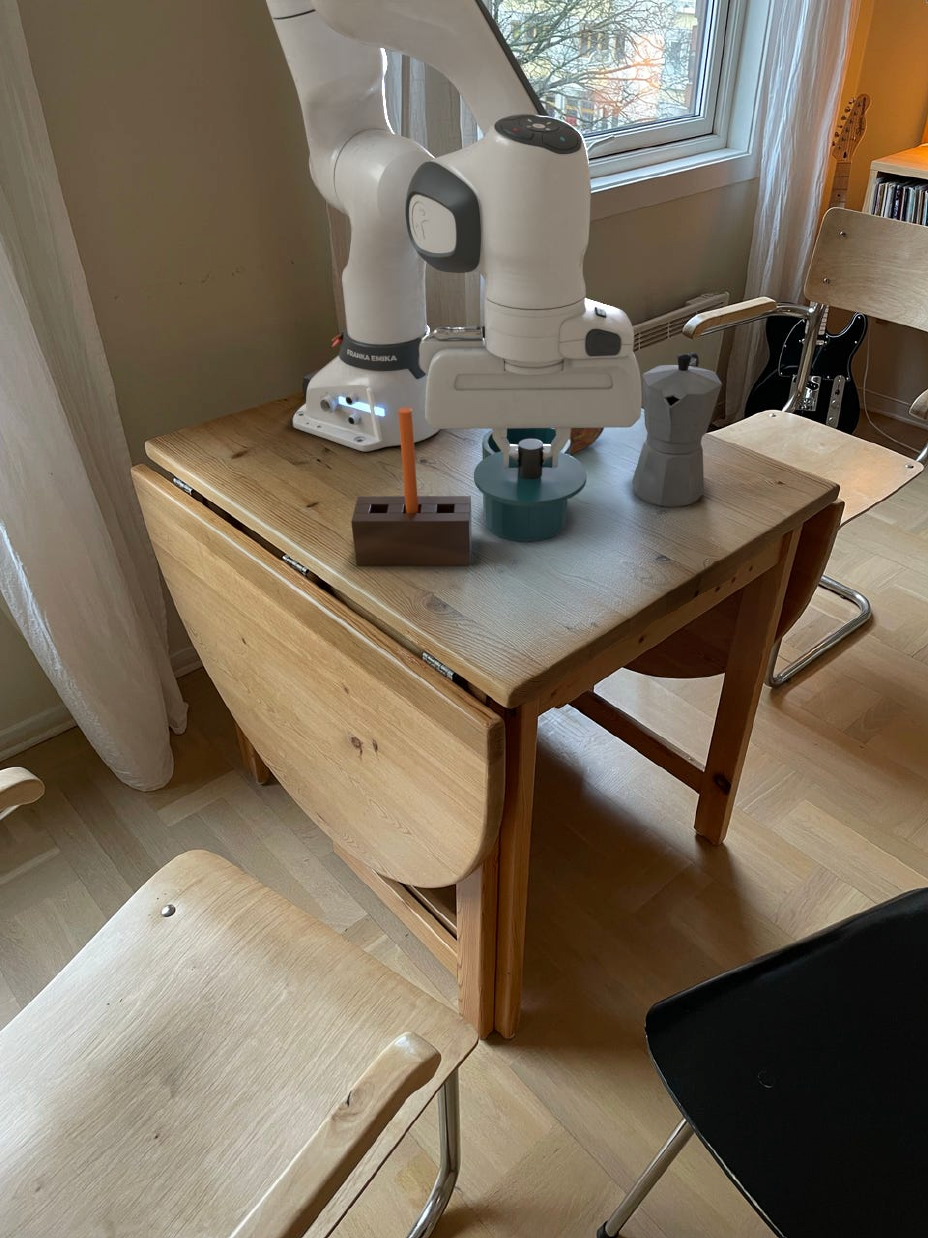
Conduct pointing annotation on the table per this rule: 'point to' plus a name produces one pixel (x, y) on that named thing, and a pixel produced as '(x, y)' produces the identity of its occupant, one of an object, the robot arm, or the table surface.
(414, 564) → the straw rack
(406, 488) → the straw
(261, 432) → the table surface
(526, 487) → the can lid
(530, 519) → the can
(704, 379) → the coffeepot
